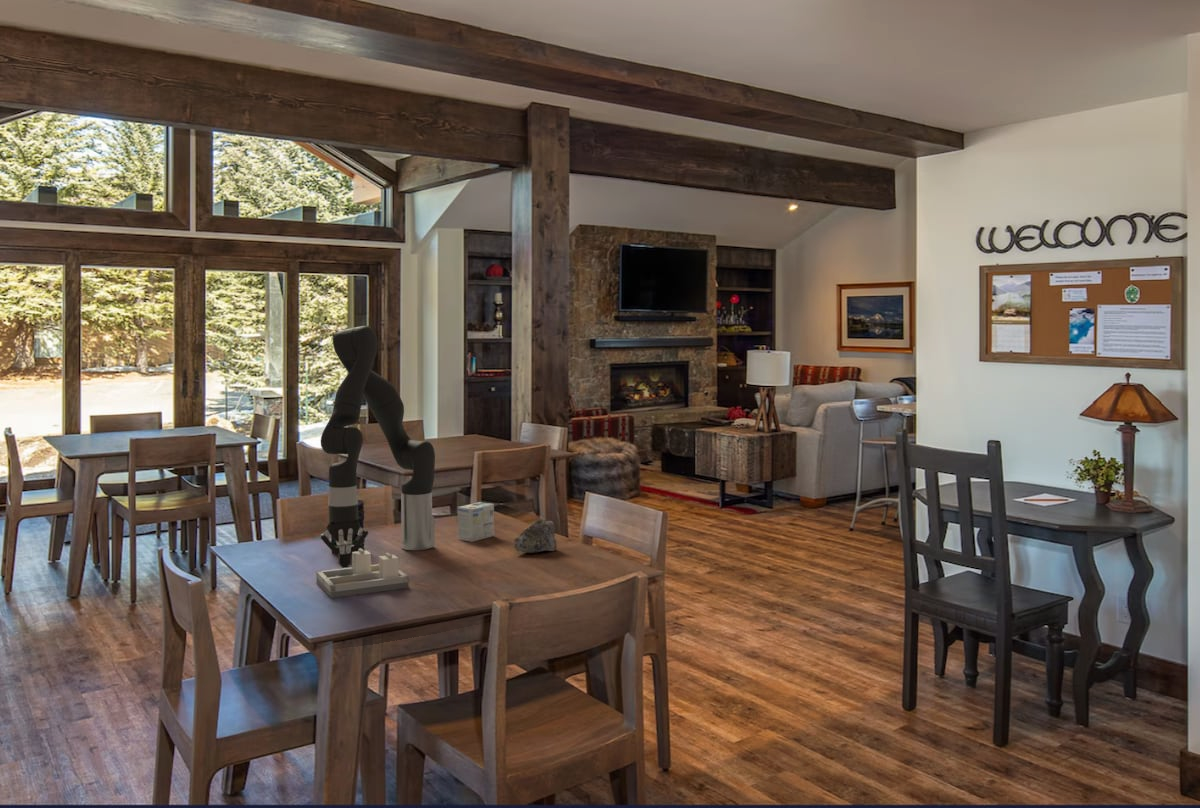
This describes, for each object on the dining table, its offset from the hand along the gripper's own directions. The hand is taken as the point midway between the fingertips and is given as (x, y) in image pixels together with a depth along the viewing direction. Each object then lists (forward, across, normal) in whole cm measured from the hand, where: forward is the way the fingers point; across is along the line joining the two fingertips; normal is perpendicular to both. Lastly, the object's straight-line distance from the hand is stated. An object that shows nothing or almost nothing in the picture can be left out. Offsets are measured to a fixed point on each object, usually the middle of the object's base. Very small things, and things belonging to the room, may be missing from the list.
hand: (344, 566), depth 246 cm
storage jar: (+5, -9, -34) cm, 36 cm away
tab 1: (+3, -4, 0) cm, 5 cm away
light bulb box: (+5, -50, -34) cm, 61 cm away
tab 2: (+3, -10, +8) cm, 13 cm away
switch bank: (+4, -4, +4) cm, 7 cm away
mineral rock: (+5, -60, -8) cm, 60 cm away
